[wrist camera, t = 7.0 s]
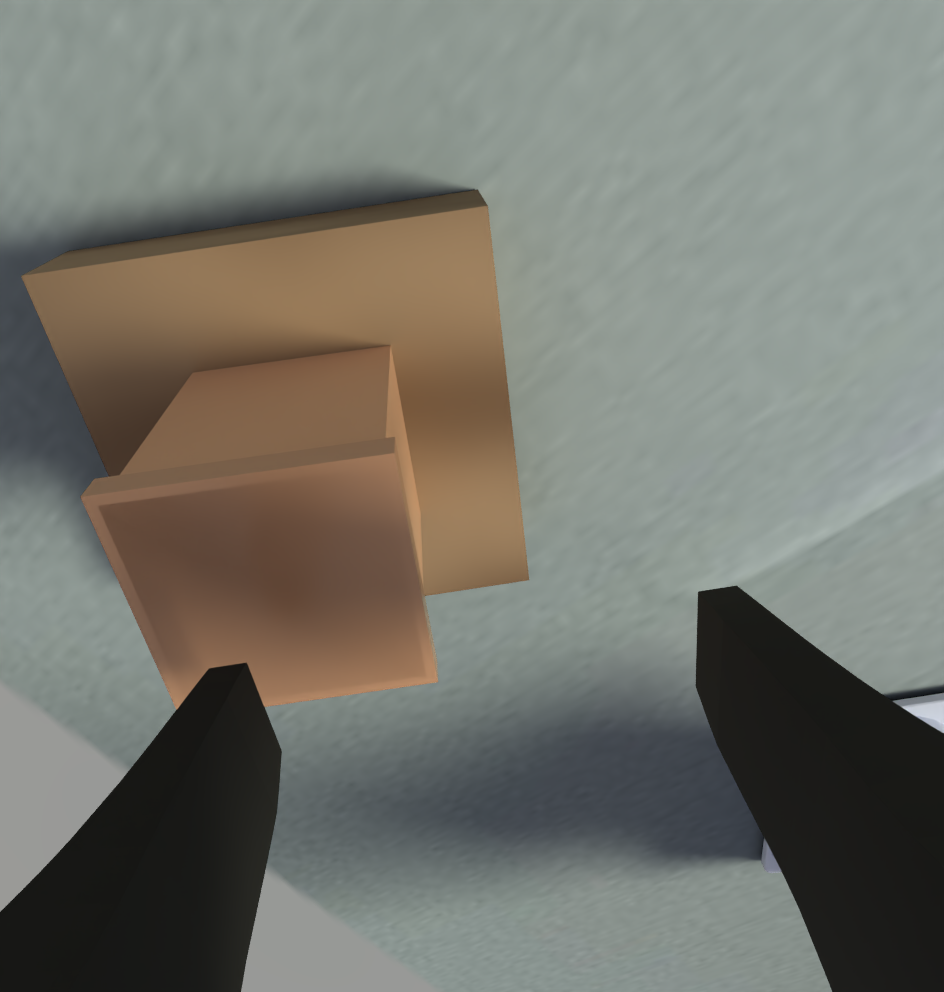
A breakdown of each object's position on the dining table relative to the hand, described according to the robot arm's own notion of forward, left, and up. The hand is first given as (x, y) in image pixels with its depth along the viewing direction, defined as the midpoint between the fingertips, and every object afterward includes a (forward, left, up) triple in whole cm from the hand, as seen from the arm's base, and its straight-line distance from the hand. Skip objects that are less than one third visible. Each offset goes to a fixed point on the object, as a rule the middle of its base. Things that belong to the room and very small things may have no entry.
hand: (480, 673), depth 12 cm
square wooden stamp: (+1, +3, -8) cm, 8 cm away
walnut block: (+1, +3, -10) cm, 11 cm away
